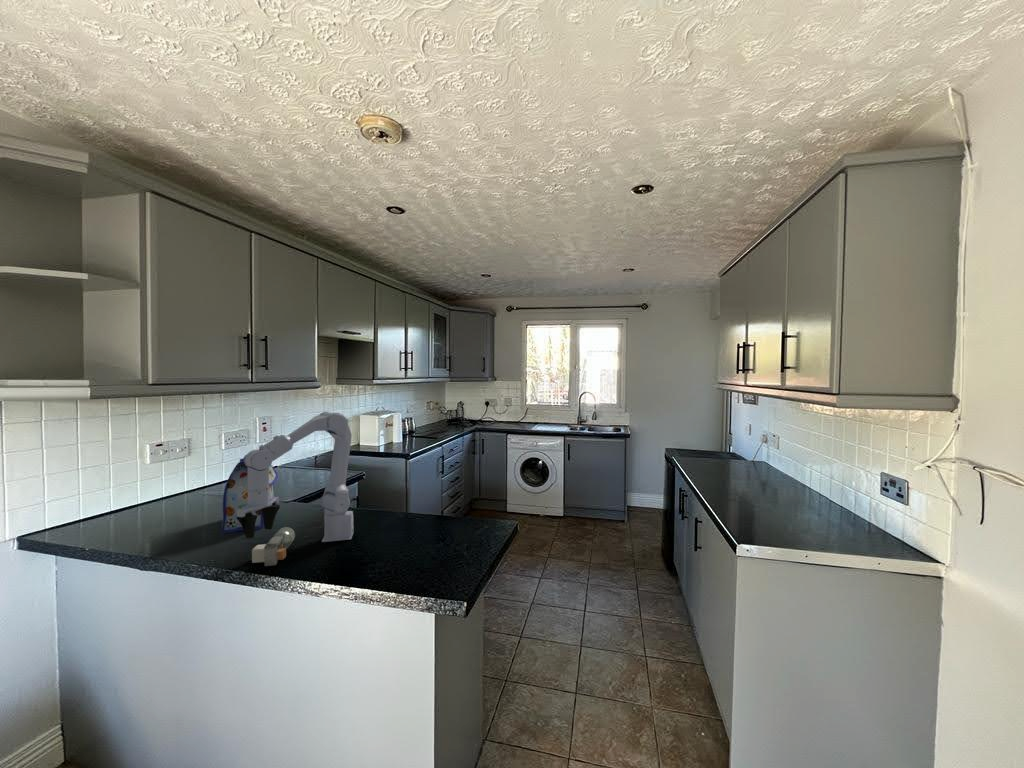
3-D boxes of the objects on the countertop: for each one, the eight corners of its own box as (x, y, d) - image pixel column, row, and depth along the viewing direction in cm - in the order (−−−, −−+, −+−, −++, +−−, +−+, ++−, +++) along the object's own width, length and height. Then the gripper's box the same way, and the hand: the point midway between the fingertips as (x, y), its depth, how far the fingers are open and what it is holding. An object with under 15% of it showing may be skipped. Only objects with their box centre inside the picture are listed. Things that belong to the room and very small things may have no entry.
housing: (295, 543, 143) (294, 526, 143) (280, 564, 127) (280, 545, 127) (276, 545, 142) (276, 528, 142) (259, 566, 125) (259, 547, 125)
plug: (286, 555, 133) (286, 542, 133) (282, 560, 129) (282, 547, 129) (257, 557, 132) (257, 544, 132) (252, 562, 128) (251, 549, 128)
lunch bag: (271, 528, 158) (270, 457, 158) (219, 534, 152) (218, 460, 152) (280, 511, 179) (279, 448, 179) (234, 516, 173) (233, 451, 173)
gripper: (251, 495, 122) (252, 542, 122) (286, 483, 136) (287, 525, 136) (230, 495, 123) (231, 541, 123) (267, 483, 137) (268, 524, 137)
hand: (259, 533), depth 130 cm, fingers open, 7 cm apart
